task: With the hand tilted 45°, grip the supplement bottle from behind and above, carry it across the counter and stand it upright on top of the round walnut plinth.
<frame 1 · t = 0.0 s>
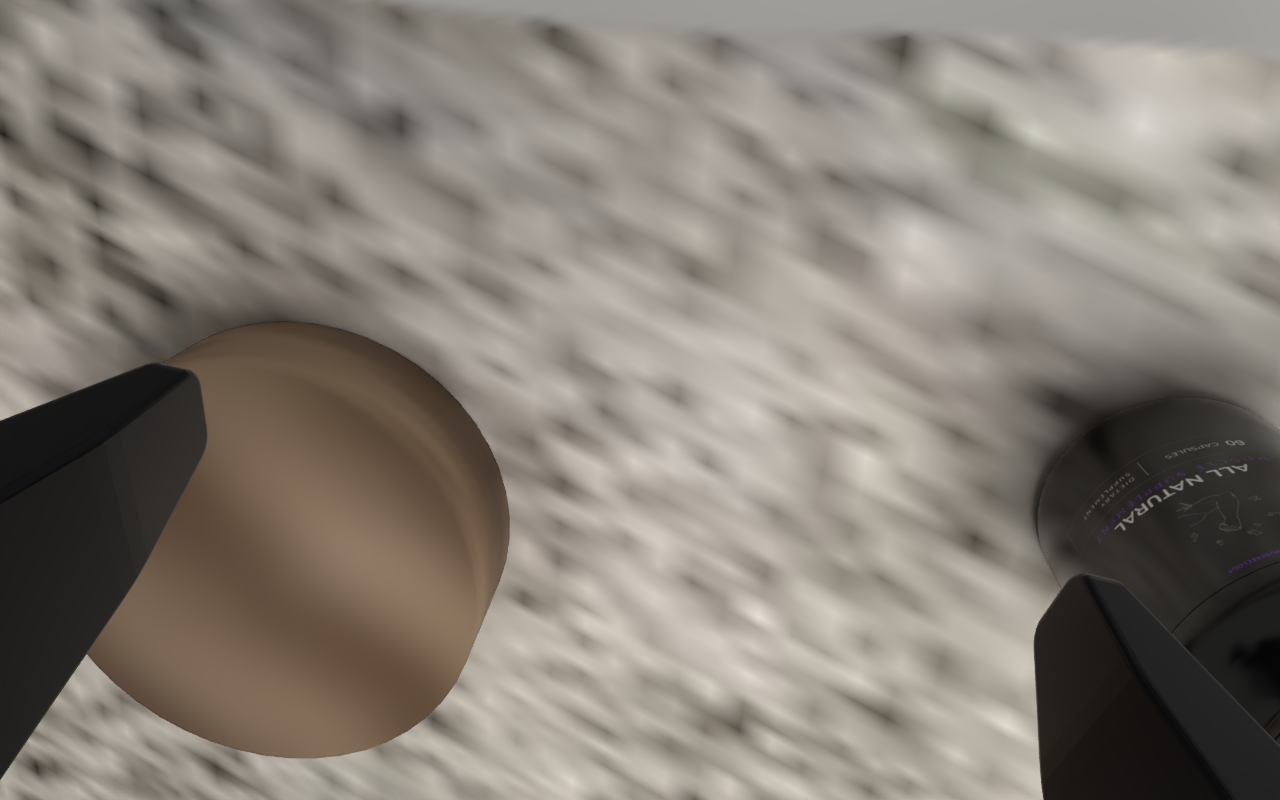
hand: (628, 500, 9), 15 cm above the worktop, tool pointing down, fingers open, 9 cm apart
supplement bottle: (1152, 499, 26), on the worktop
walnut plinth: (316, 509, 28), on the worktop
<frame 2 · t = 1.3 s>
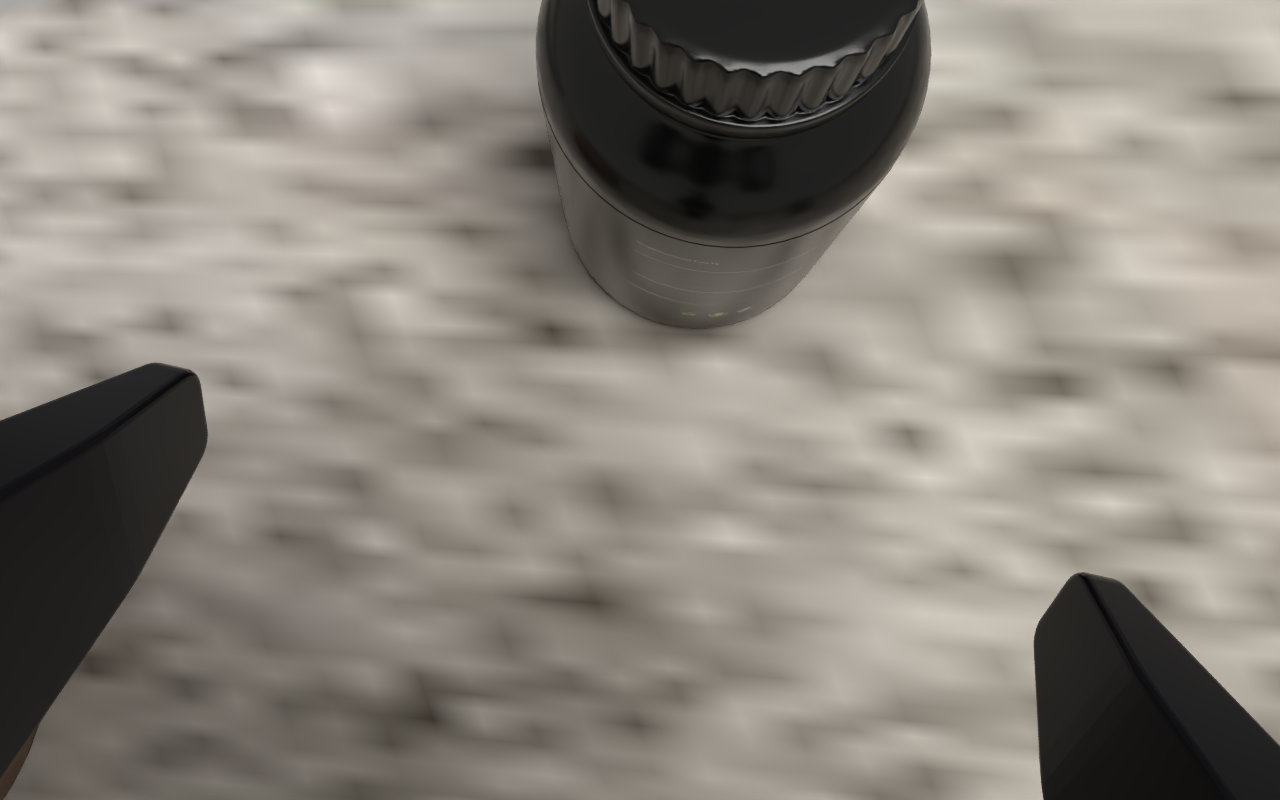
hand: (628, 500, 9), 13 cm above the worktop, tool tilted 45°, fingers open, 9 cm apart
supplement bottle: (693, 210, 24), on the worktop
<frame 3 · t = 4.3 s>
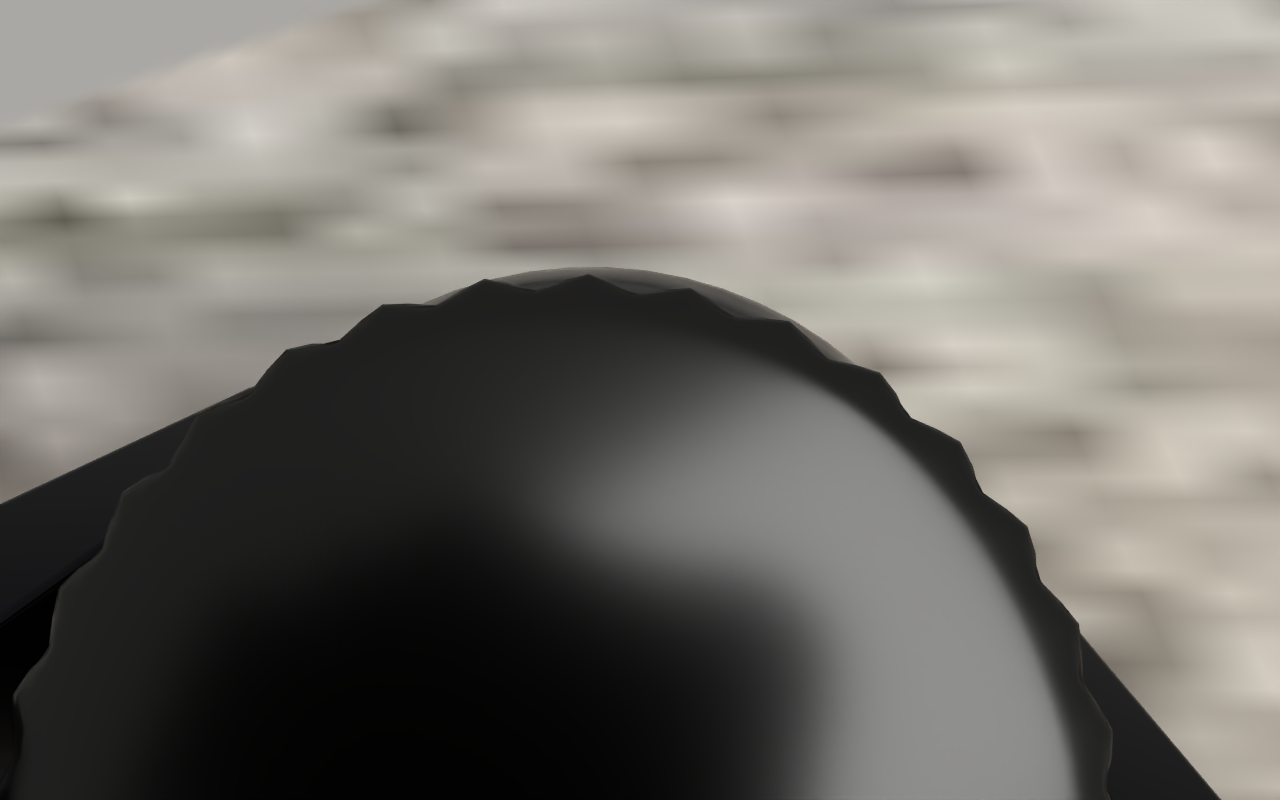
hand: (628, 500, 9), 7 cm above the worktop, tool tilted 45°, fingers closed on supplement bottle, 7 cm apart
supplement bottle: (605, 590, 16), on the worktop, touching gripper
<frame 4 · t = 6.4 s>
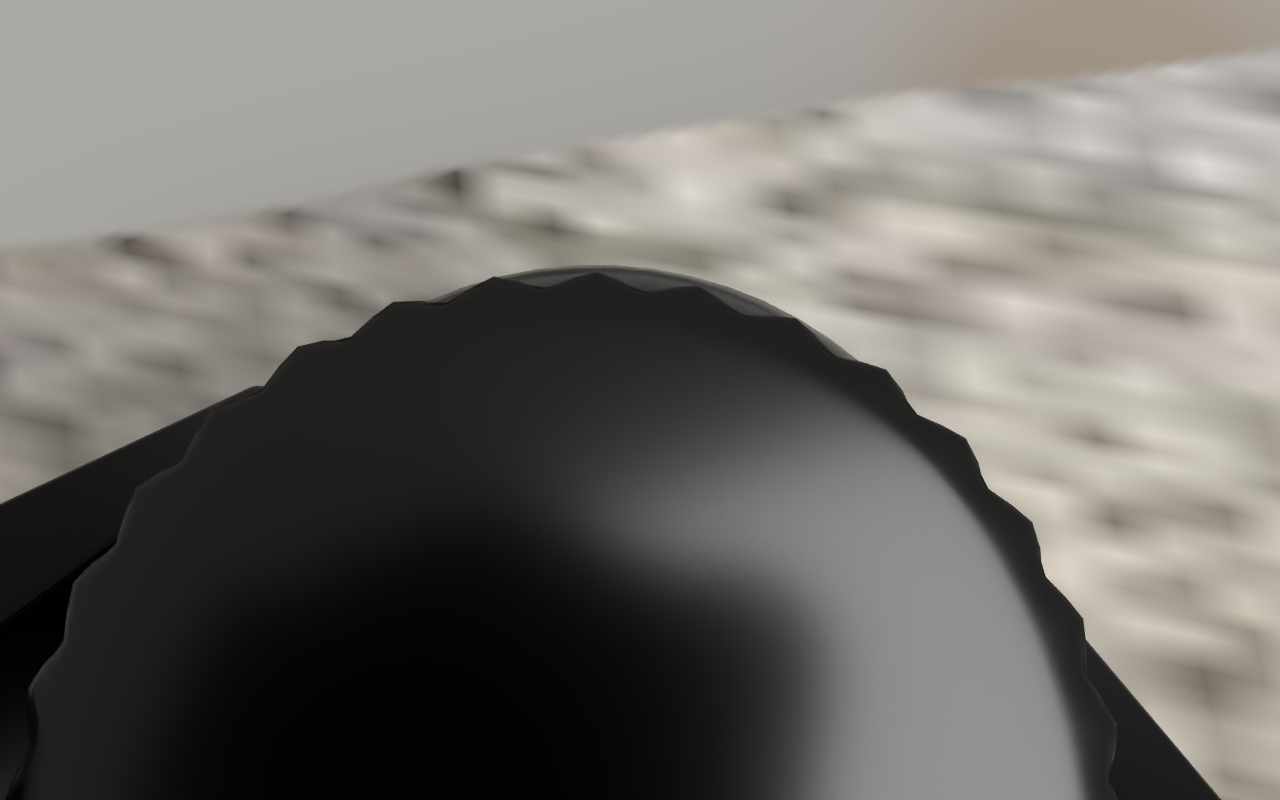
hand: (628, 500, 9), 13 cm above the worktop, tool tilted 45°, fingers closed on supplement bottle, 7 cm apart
supplement bottle: (608, 587, 16), point 7 cm above the worktop, touching gripper
when the fingers open (12 cm above the worktop, at t = 8.6 s): supplement bottle drops 1 cm, resting on walnut plinth.
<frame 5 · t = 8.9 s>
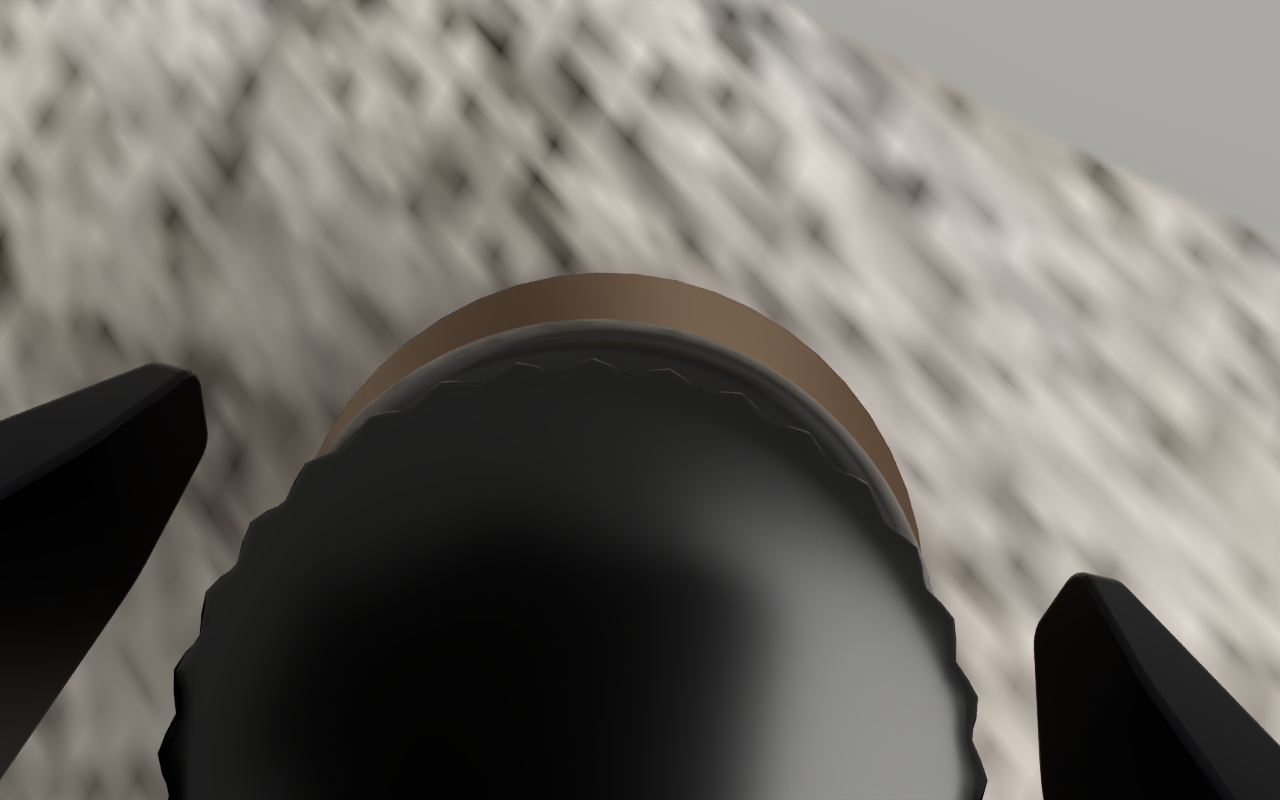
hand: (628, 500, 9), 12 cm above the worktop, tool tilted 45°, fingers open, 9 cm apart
supplement bottle: (606, 590, 17), point 4 cm above the worktop, touching walnut plinth
walnut plinth: (608, 572, 21), on the worktop
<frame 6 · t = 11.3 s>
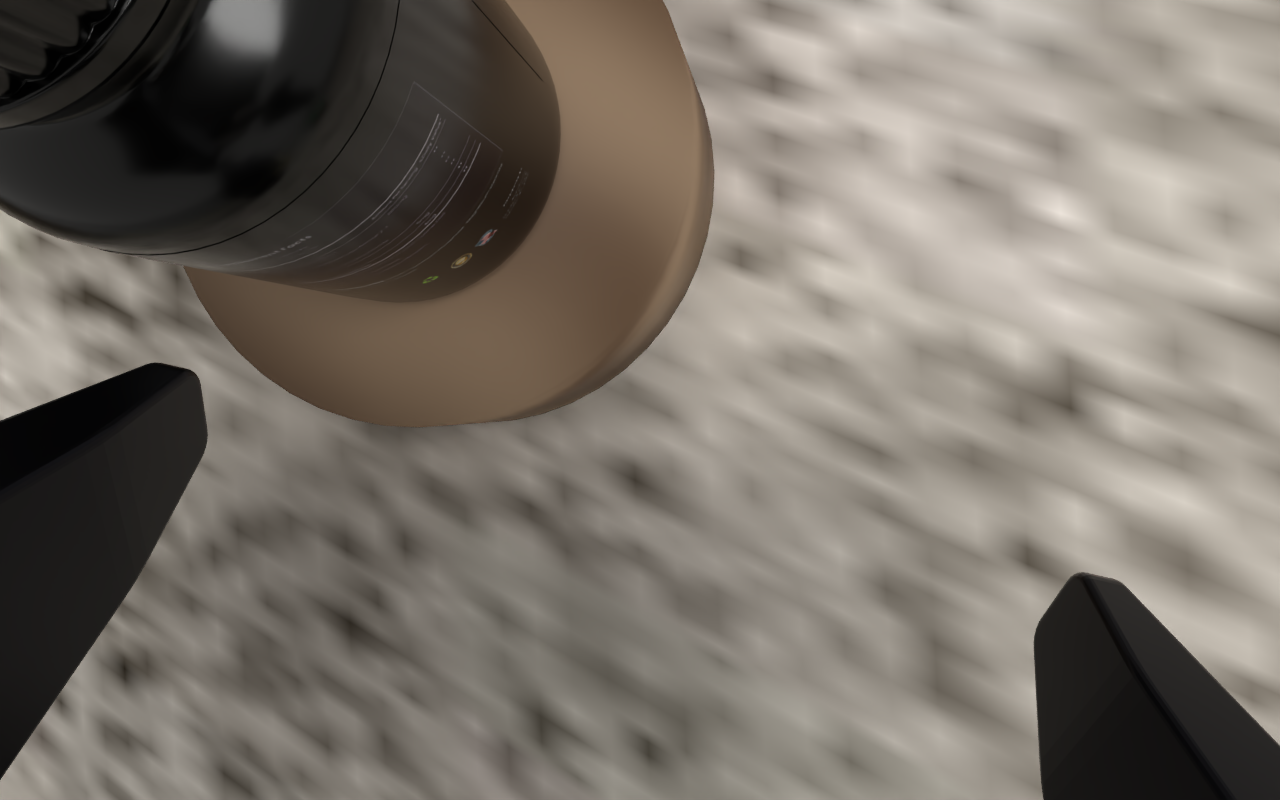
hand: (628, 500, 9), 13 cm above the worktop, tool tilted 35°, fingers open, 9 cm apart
supplement bottle: (419, 152, 20), point 4 cm above the worktop, touching walnut plinth
walnut plinth: (480, 187, 23), on the worktop
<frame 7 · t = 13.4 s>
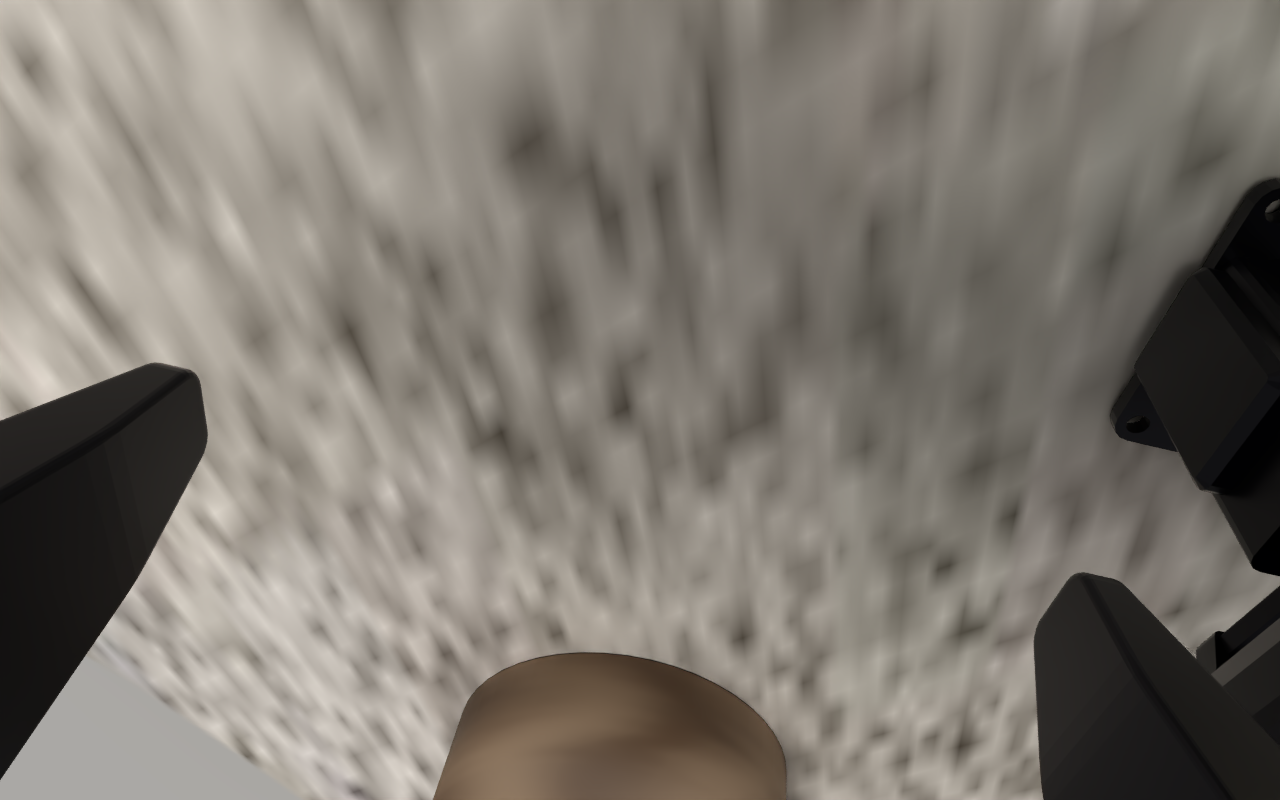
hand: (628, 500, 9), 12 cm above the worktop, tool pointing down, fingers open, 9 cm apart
walnut plinth: (620, 759, 33), on the worktop
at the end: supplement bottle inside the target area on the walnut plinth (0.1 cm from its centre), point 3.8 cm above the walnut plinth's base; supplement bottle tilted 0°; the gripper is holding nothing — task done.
